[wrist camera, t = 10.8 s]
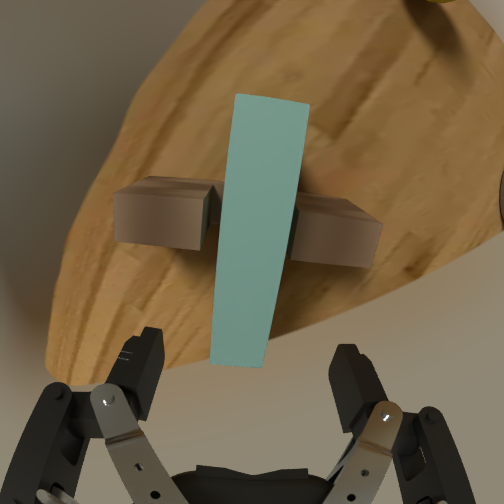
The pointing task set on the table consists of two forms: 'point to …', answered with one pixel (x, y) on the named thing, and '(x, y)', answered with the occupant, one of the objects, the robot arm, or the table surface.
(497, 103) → the table surface
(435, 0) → the lemon
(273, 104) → the teal arch block
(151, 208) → the brown wooden u-shaped block
